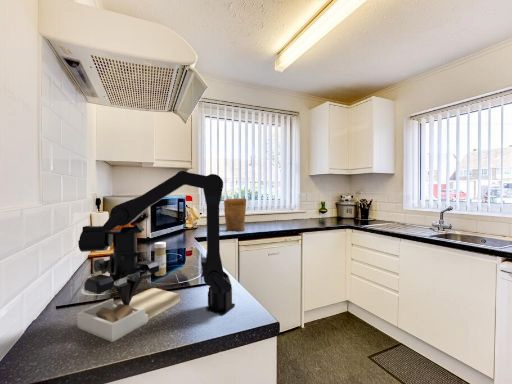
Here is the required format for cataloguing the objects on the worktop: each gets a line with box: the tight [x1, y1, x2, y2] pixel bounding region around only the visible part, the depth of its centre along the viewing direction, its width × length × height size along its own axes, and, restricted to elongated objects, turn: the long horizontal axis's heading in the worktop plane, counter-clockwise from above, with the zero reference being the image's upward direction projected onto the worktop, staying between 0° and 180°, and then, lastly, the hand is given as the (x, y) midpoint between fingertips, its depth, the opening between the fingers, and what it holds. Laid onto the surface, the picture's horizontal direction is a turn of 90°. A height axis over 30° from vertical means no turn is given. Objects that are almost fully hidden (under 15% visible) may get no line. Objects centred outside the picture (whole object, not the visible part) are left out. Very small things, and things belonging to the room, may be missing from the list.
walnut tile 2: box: [113, 304, 133, 320], centre depth 68 cm, size 4×4×2 cm
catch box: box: [76, 298, 149, 343], centre depth 66 cm, size 14×10×4 cm
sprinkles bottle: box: [153, 241, 167, 277], centre depth 106 cm, size 5×5×14 cm
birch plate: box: [116, 287, 181, 321], centre depth 76 cm, size 12×13×2 cm
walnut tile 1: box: [96, 307, 118, 323], centre depth 65 cm, size 4×4×2 cm
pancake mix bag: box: [223, 197, 247, 232], centre depth 215 cm, size 7×19×28 cm, turn 96°
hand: (126, 305), depth 69 cm, fingers closed
